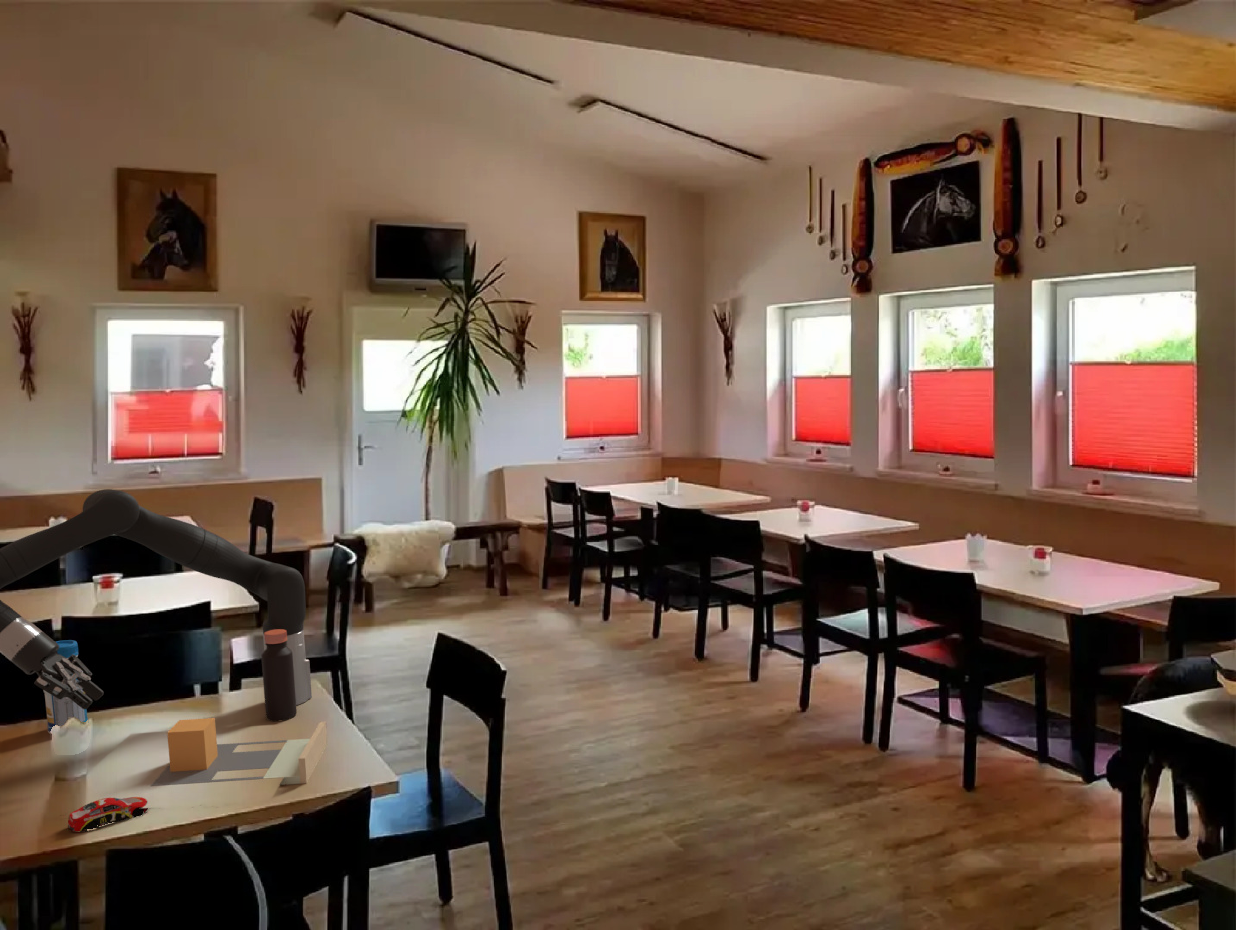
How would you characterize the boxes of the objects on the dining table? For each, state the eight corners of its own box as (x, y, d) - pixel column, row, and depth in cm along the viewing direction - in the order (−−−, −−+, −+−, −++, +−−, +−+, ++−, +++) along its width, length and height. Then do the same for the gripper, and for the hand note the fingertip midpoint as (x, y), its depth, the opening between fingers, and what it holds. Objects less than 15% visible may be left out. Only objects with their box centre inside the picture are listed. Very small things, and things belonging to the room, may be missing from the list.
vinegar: (266, 713, 238) (260, 630, 236) (296, 709, 240) (291, 626, 238) (265, 723, 232) (259, 637, 230) (296, 719, 234) (290, 634, 232)
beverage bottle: (71, 737, 227) (63, 649, 225) (38, 735, 229) (29, 648, 227) (97, 723, 235) (89, 639, 233) (65, 722, 237) (57, 638, 235)
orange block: (170, 771, 202) (167, 732, 201) (182, 758, 209) (179, 720, 208) (206, 769, 202) (203, 730, 201) (217, 755, 209) (214, 718, 208)
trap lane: (151, 793, 195) (148, 768, 195) (186, 753, 215) (184, 730, 215) (306, 783, 198) (304, 758, 197) (327, 744, 217) (325, 721, 217)
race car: (144, 805, 191) (143, 785, 191) (152, 815, 187) (151, 794, 186) (66, 827, 183) (64, 806, 182) (72, 838, 178) (71, 816, 178)
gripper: (20, 641, 193) (92, 699, 195) (55, 622, 207) (122, 676, 210) (-6, 670, 193) (66, 728, 196) (30, 649, 208) (97, 703, 210)
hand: (94, 701), depth 203 cm, fingers open, 4 cm apart
